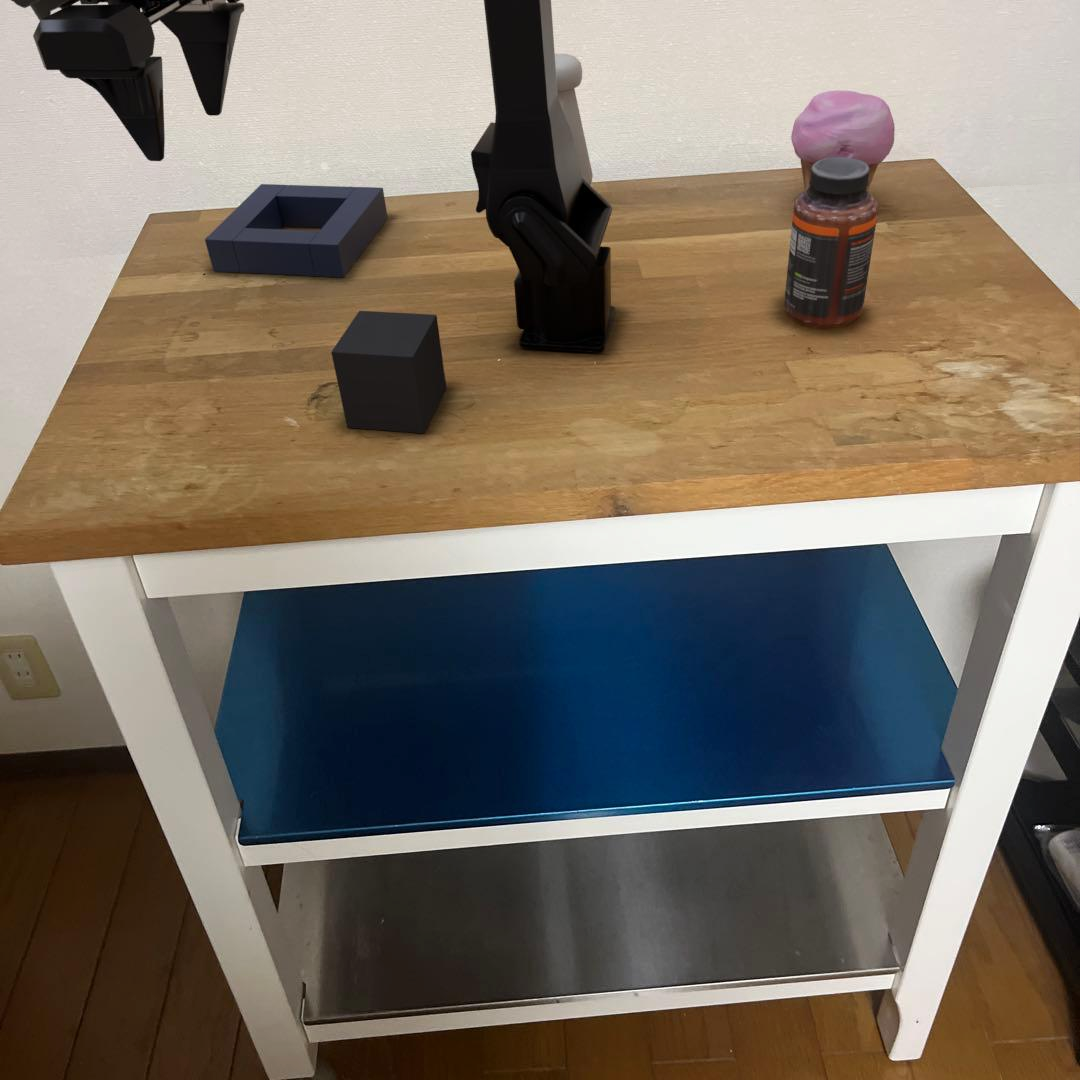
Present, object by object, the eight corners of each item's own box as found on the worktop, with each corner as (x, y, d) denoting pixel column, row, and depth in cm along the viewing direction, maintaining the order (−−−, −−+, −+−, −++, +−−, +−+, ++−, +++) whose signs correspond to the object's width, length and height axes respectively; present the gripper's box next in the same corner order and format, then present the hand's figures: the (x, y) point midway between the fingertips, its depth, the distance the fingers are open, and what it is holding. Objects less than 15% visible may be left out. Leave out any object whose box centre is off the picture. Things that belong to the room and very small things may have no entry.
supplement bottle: (869, 300, 80) (893, 156, 73) (852, 336, 76) (877, 187, 69) (793, 288, 82) (809, 147, 75) (773, 323, 78) (788, 177, 71)
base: (387, 218, 97) (383, 187, 95) (343, 277, 88) (337, 244, 86) (268, 214, 100) (261, 183, 98) (213, 271, 91) (204, 239, 89)
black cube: (446, 389, 74) (436, 314, 70) (424, 433, 70) (412, 356, 66) (372, 384, 75) (359, 310, 71) (346, 427, 71) (330, 351, 67)
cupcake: (780, 188, 98) (791, 77, 91) (874, 186, 97) (892, 74, 90) (789, 227, 91) (801, 111, 84) (890, 226, 90) (910, 109, 84)
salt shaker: (587, 216, 95) (583, 68, 87) (526, 214, 96) (517, 67, 88) (597, 191, 99) (594, 47, 91) (539, 189, 101) (531, 47, 92)
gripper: (81, -135, 73) (148, 93, 83) (-91, -81, 59) (15, 184, 70) (224, -141, 71) (276, 94, 81) (80, -87, 57) (164, 188, 67)
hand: (186, 136), depth 75 cm, fingers open, 9 cm apart
